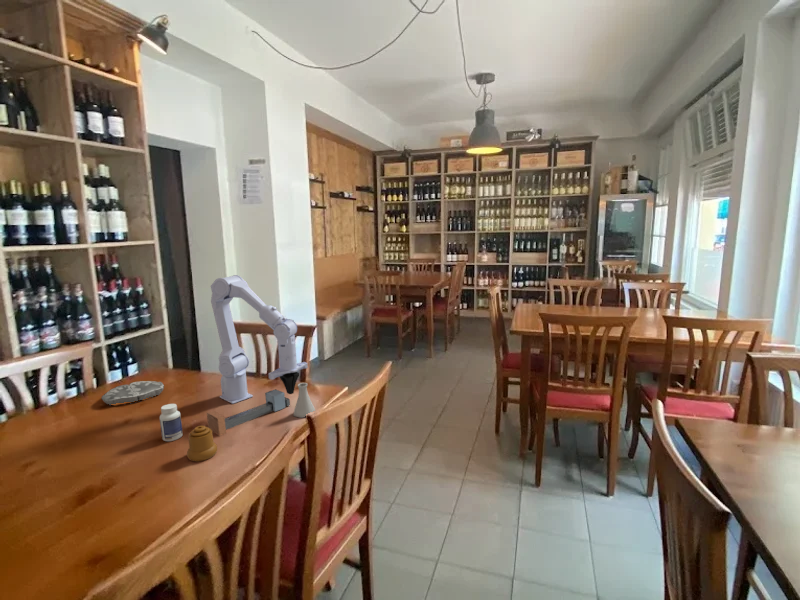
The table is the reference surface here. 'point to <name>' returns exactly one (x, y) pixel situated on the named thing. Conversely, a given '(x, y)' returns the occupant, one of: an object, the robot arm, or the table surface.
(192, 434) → the ornamental finial
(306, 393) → the flask
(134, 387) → the brain slice
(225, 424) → the rail
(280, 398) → the block
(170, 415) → the pill bottle
